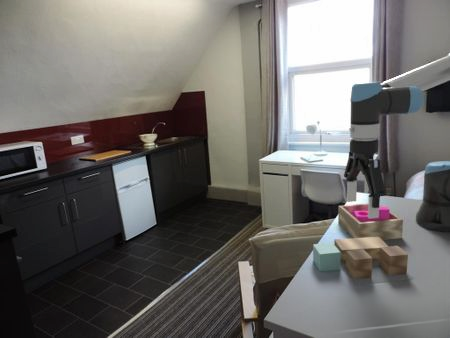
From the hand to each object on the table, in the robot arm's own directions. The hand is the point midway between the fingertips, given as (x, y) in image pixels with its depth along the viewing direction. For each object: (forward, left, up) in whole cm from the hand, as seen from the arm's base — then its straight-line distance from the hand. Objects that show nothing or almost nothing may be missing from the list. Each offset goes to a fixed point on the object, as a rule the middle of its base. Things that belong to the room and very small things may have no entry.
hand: (361, 208), depth 96 cm
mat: (0, +9, -16) cm, 18 cm away
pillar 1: (+5, +9, -16) cm, 19 cm away
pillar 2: (-5, +9, -16) cm, 19 cm away
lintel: (0, 0, -16) cm, 16 cm away
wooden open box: (-11, -17, -16) cm, 26 cm away
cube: (+12, +3, -16) cm, 20 cm away
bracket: (-11, -17, -16) cm, 26 cm away
